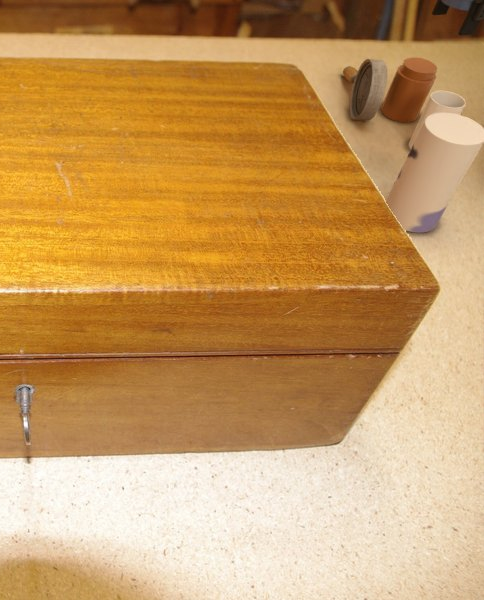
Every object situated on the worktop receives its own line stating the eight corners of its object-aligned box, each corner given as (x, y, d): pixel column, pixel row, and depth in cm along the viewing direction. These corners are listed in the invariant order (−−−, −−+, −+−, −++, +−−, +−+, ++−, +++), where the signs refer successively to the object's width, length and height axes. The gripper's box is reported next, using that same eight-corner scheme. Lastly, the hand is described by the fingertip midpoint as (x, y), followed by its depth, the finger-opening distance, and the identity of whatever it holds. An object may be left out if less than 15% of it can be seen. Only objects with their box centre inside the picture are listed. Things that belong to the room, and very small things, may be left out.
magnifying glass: (349, 43, 168) (377, 65, 146) (362, 44, 167) (392, 67, 146) (334, 97, 174) (359, 126, 153) (346, 98, 174) (373, 128, 153)
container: (385, 194, 140) (428, 106, 126) (438, 209, 137) (488, 120, 123) (378, 223, 134) (422, 134, 120) (434, 239, 131) (486, 150, 117)
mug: (442, 160, 149) (468, 110, 140) (408, 155, 150) (433, 105, 141) (435, 133, 155) (460, 84, 146) (403, 129, 156) (426, 80, 147)
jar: (423, 113, 161) (446, 66, 152) (406, 126, 157) (429, 78, 148) (391, 99, 165) (411, 52, 156) (374, 111, 161) (394, 64, 152)
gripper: (455, -123, 127) (405, 2, 143) (532, -83, 113) (467, 51, 129) (492, -125, 128) (438, -1, 145) (573, -85, 114) (503, 47, 131)
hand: (451, 23), depth 137 cm, fingers closed on lid, 8 cm apart
